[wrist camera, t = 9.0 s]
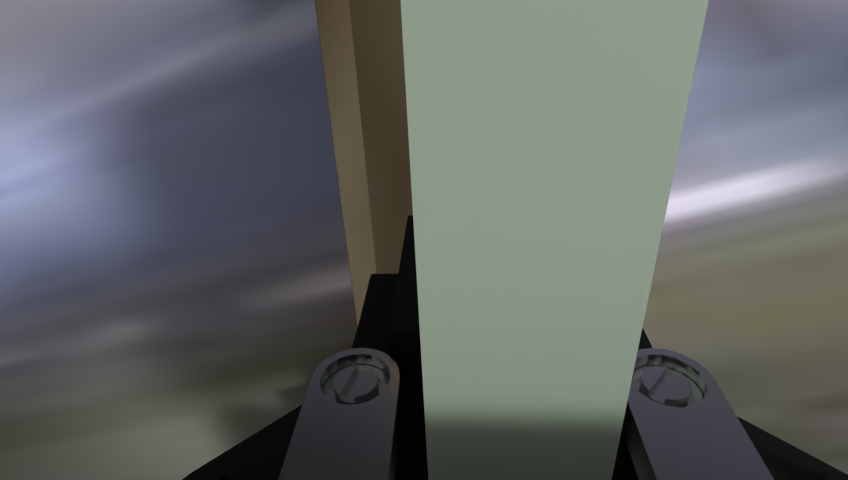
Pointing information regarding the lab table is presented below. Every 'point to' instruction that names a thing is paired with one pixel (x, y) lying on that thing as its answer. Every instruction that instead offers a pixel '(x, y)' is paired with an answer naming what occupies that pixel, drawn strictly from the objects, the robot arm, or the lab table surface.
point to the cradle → (368, 131)
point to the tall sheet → (538, 219)
